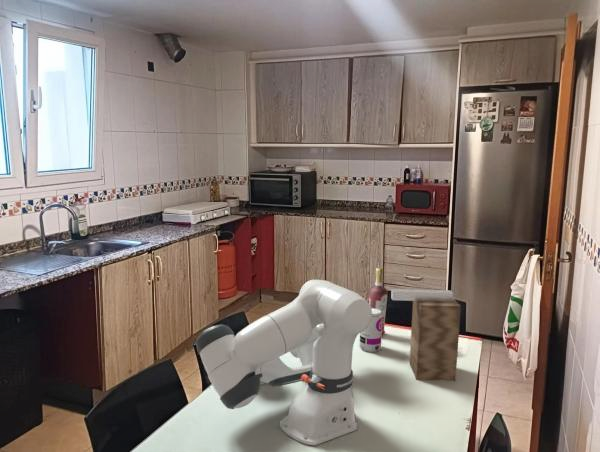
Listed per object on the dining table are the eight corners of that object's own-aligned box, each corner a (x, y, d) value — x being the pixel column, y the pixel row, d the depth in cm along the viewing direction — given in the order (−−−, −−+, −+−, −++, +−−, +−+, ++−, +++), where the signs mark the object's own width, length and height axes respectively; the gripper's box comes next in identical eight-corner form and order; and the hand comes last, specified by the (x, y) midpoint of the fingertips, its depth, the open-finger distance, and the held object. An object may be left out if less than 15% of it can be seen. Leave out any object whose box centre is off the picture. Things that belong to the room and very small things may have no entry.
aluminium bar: (392, 300, 167) (392, 291, 167) (391, 297, 170) (391, 289, 170) (452, 301, 167) (453, 293, 166) (449, 298, 170) (450, 290, 169)
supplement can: (384, 347, 193) (385, 310, 191) (375, 354, 186) (377, 316, 184) (365, 342, 198) (366, 306, 195) (355, 349, 191) (357, 311, 188)
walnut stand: (416, 379, 167) (420, 305, 163) (409, 363, 179) (413, 294, 174) (455, 380, 167) (460, 306, 162) (446, 364, 178) (450, 295, 174)
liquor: (377, 339, 201) (380, 271, 196) (363, 334, 206) (366, 268, 201) (389, 335, 205) (392, 269, 201) (375, 329, 211) (378, 265, 206)
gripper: (335, 324, 182) (368, 307, 180) (338, 347, 161) (376, 328, 160) (326, 310, 181) (360, 292, 179) (328, 331, 161) (366, 311, 159)
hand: (368, 309), depth 170 cm, fingers open, 8 cm apart
